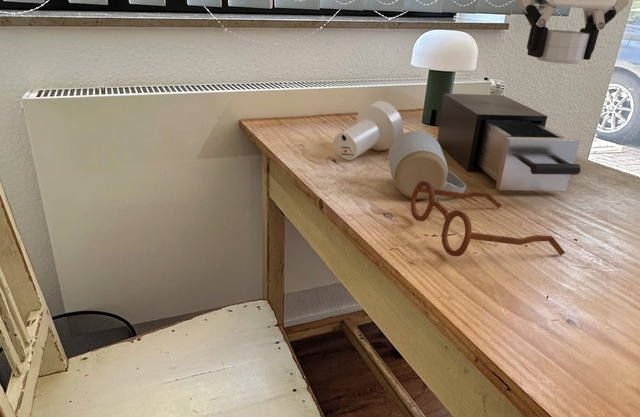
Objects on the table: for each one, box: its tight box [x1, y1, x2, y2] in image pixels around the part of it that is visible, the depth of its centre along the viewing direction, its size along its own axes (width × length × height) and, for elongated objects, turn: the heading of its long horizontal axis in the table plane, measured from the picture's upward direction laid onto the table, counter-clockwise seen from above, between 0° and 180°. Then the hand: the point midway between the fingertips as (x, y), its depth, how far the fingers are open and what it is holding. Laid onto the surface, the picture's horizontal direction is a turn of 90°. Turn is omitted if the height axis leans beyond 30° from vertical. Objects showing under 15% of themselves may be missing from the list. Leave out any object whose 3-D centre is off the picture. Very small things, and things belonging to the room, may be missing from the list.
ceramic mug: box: [387, 130, 467, 200], centre depth 67 cm, size 11×8×8 cm
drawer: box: [474, 120, 581, 192], centre depth 71 cm, size 19×10×7 cm, turn 5°
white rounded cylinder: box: [536, 29, 590, 65], centre depth 70 cm, size 6×6×4 cm
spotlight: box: [333, 100, 404, 161], centre depth 82 cm, size 8×11×8 cm
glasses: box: [410, 181, 566, 258], centre depth 56 cm, size 13×13×5 cm
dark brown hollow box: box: [436, 93, 548, 173], centre depth 83 cm, size 16×11×9 cm
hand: (558, 56), depth 70 cm, fingers closed on white rounded cylinder, 6 cm apart
